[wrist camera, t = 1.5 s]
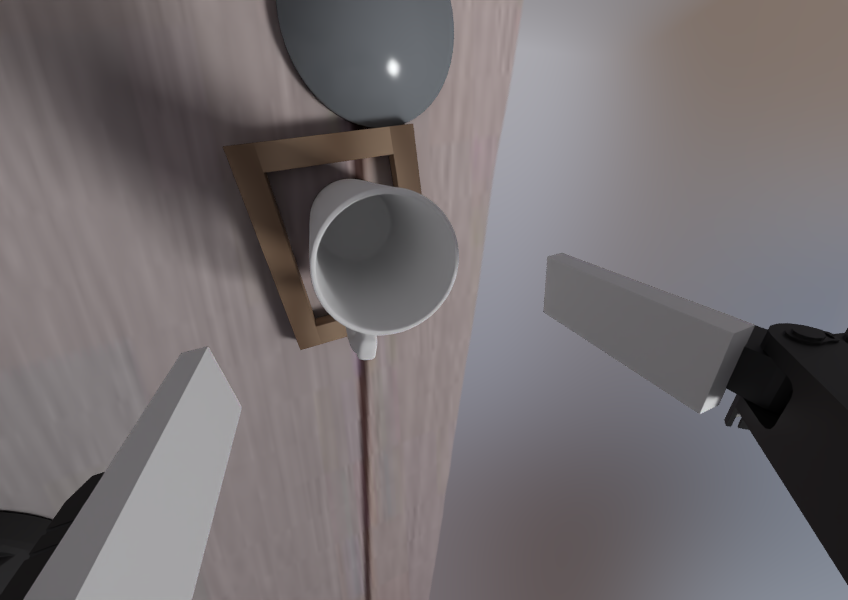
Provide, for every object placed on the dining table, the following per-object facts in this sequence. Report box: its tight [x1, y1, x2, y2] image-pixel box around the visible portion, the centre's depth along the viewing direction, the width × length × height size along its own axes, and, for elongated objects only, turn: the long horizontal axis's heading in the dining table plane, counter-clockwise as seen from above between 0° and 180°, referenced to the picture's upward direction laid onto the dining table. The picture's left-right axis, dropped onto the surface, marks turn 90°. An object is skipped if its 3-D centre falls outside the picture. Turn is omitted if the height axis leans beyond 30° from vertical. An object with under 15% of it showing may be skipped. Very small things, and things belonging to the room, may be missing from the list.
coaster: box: [276, 0, 454, 128], centre depth 19 cm, size 11×11×1 cm
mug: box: [309, 179, 459, 360], centre depth 19 cm, size 10×7×12 cm, turn 165°
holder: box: [223, 124, 422, 350], centre depth 24 cm, size 12×15×2 cm
